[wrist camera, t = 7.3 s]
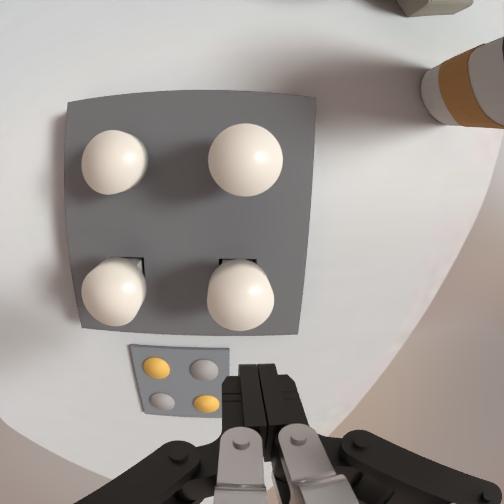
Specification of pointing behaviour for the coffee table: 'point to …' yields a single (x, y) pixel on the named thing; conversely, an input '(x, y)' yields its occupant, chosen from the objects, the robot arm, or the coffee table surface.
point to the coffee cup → (468, 88)
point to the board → (191, 205)
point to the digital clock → (432, 7)
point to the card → (181, 379)
